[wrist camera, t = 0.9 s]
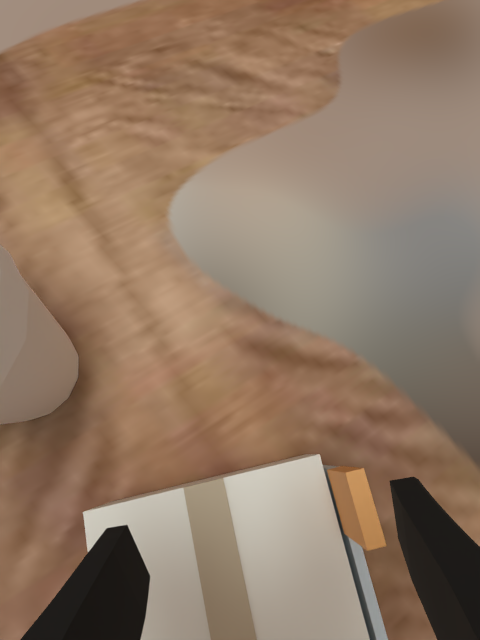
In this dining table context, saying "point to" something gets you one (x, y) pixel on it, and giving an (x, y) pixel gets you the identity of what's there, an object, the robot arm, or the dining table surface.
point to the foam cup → (30, 351)
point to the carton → (242, 556)
